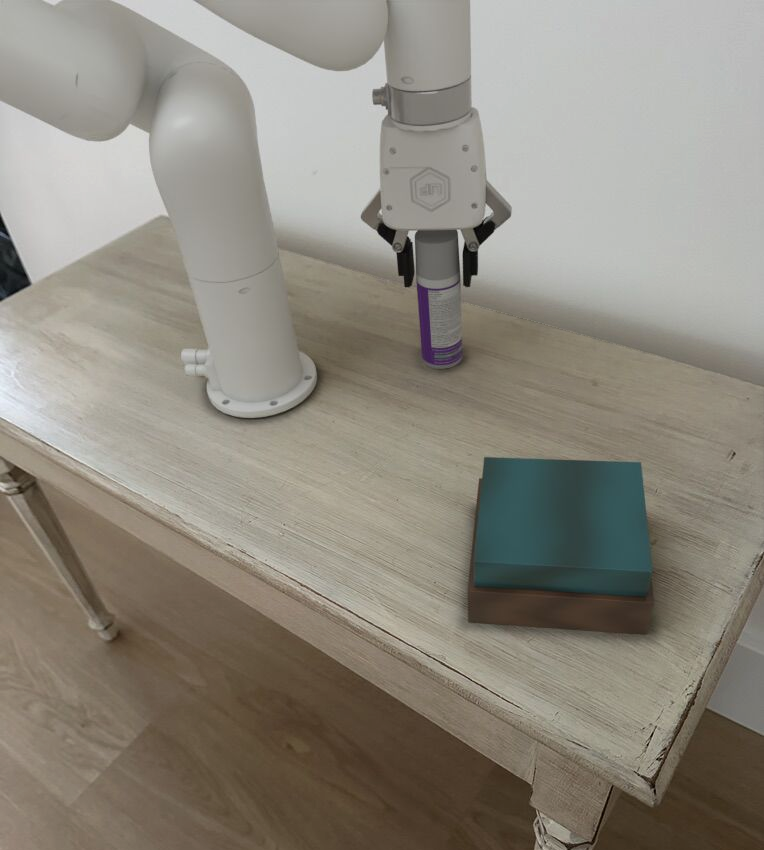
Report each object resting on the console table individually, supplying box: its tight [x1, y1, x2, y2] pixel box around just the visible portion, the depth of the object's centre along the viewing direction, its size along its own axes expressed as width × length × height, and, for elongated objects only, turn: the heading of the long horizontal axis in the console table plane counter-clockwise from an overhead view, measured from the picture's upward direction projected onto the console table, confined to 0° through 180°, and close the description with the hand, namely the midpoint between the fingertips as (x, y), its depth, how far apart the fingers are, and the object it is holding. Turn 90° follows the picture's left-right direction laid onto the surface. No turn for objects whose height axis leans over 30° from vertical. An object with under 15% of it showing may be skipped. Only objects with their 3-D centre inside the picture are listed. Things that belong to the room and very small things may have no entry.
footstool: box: [466, 456, 655, 635], centre depth 65 cm, size 14×13×7 cm
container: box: [414, 230, 463, 370], centre depth 86 cm, size 5×5×15 cm
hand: (438, 279), depth 84 cm, fingers open, 5 cm apart
